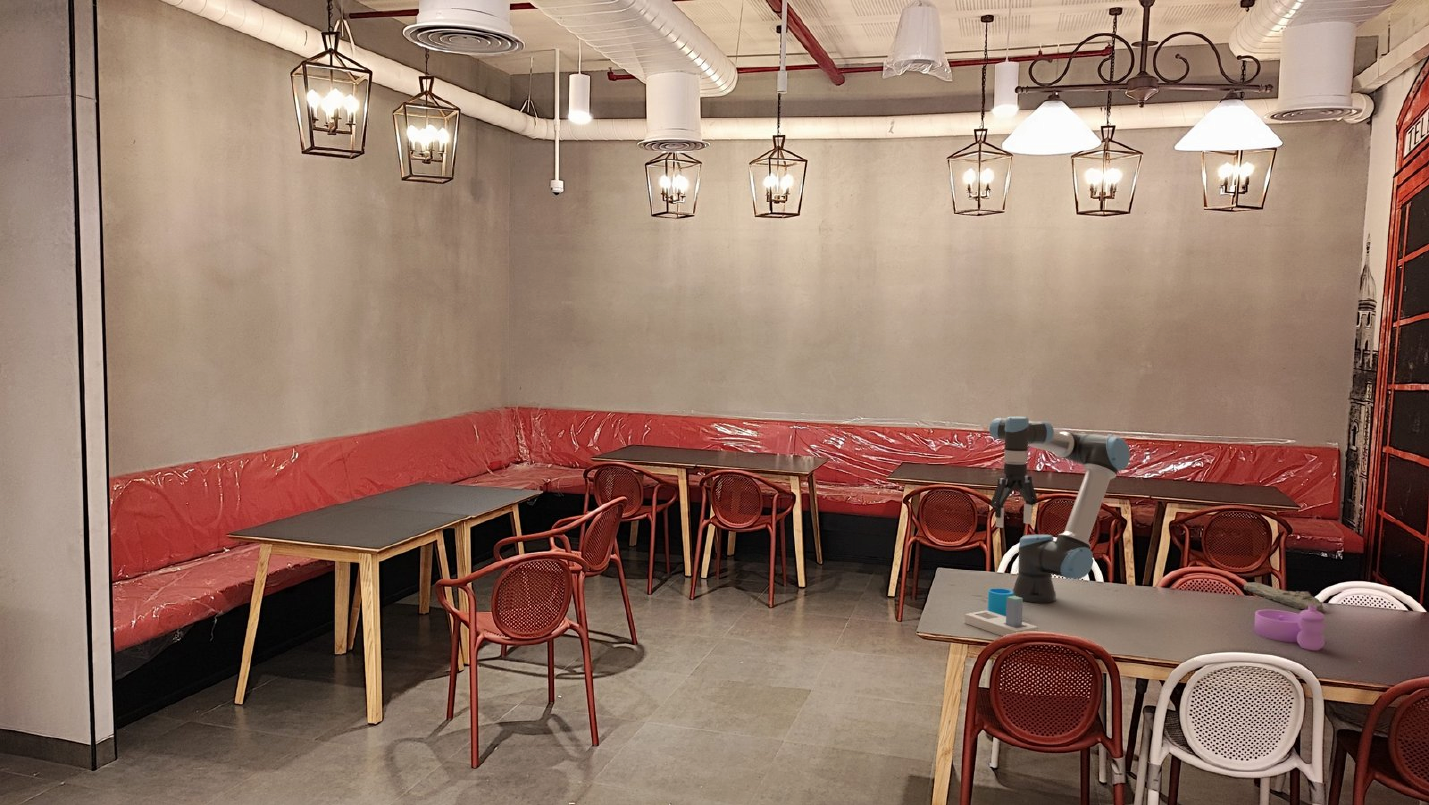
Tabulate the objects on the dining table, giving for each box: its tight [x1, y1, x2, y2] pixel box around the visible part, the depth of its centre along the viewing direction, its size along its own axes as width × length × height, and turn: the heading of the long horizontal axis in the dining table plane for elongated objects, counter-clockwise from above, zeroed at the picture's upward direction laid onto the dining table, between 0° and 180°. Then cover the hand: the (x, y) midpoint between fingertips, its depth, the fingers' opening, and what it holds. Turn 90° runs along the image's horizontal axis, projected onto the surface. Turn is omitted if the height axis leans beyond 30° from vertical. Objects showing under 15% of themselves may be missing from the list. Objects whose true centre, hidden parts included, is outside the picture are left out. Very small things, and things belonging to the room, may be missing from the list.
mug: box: [987, 587, 1013, 616], centre depth 350 cm, size 12×8×8 cm
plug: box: [1006, 596, 1024, 628], centre depth 326 cm, size 4×4×12 cm
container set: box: [1253, 606, 1326, 651], centre depth 325 cm, size 25×15×13 cm, turn 7°
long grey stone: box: [1243, 581, 1324, 612], centre depth 375 cm, size 35×5×10 cm
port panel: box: [964, 609, 1039, 637], centre depth 331 cm, size 22×10×3 cm, turn 31°
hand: (1013, 525), depth 343 cm, fingers open, 13 cm apart
